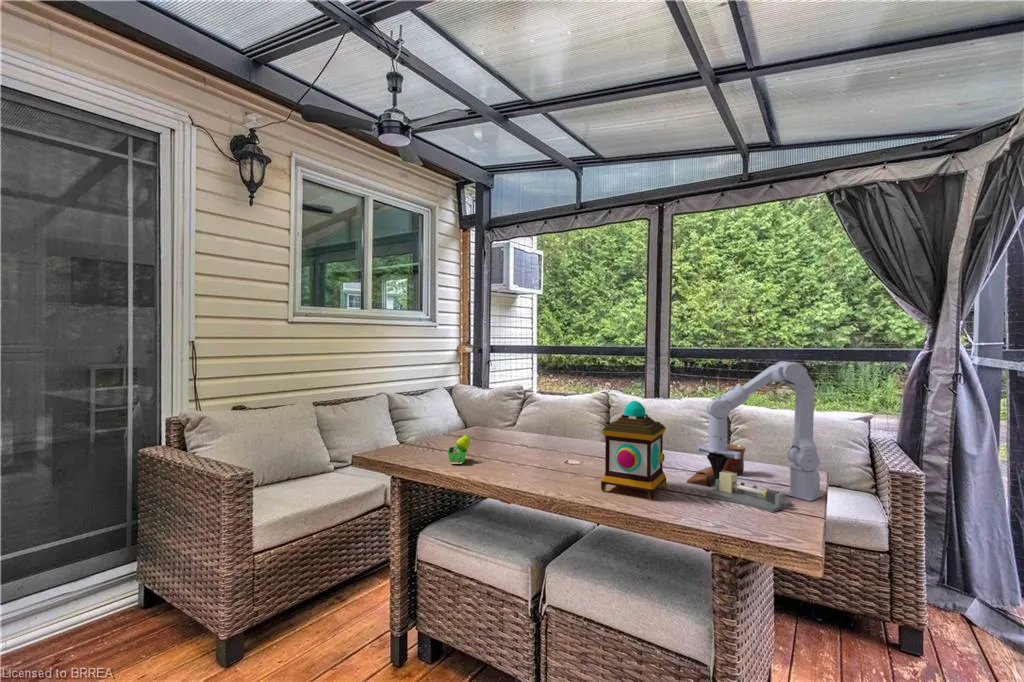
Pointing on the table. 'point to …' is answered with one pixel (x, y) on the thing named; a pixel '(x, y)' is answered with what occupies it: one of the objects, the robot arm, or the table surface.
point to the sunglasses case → (703, 477)
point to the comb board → (752, 497)
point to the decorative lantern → (634, 451)
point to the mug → (735, 460)
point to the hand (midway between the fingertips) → (717, 476)
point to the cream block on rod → (727, 481)
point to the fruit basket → (459, 450)
